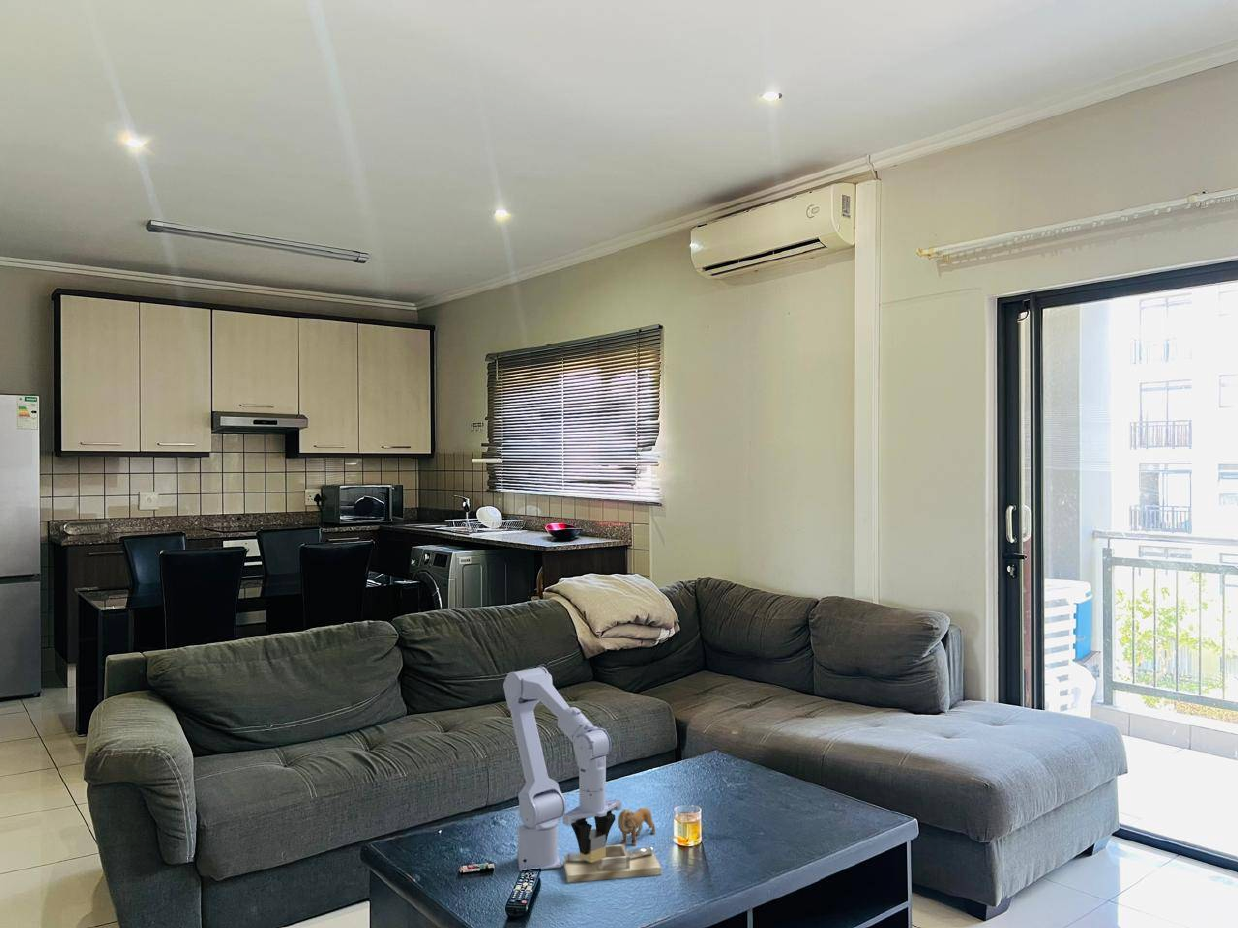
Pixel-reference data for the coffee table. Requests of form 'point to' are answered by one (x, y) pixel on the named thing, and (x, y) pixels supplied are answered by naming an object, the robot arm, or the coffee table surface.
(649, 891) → the coffee table surface
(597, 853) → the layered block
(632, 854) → the shaft right
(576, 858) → the shaft left
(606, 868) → the shaft board
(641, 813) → the lion figurine
